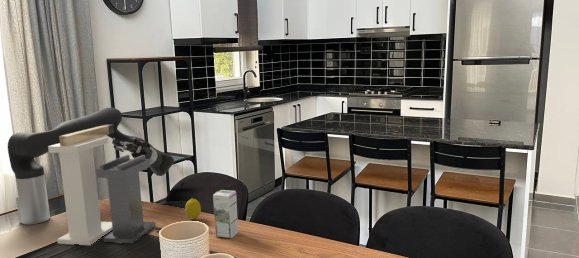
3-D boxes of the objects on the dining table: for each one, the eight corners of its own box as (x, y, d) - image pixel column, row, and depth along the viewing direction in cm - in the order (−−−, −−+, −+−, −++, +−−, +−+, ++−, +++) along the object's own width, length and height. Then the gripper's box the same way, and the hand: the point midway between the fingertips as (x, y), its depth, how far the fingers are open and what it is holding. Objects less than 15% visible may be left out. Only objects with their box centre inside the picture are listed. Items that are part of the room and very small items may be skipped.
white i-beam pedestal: (57, 243, 140) (45, 146, 135) (89, 225, 155) (79, 137, 150) (90, 245, 137) (79, 146, 132) (119, 226, 153) (110, 137, 148)
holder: (103, 242, 139) (95, 165, 135) (129, 225, 154) (122, 154, 150) (132, 244, 137) (124, 165, 133) (155, 226, 152) (149, 155, 148)
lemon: (203, 216, 159) (201, 195, 158) (198, 222, 154) (197, 200, 152) (188, 216, 160) (187, 196, 158) (183, 222, 154) (182, 200, 153)
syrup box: (239, 232, 143) (236, 190, 141) (231, 239, 138) (228, 195, 136) (223, 230, 145) (221, 188, 143) (215, 237, 140) (212, 194, 138)
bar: (60, 145, 135) (59, 136, 134) (106, 132, 158) (105, 124, 158) (68, 145, 134) (67, 136, 134) (114, 132, 157) (113, 124, 157)
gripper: (130, 145, 183) (108, 131, 169) (161, 145, 181) (142, 131, 166) (127, 162, 181) (104, 150, 166) (158, 162, 178) (138, 150, 163)
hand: (123, 140), depth 166 cm, fingers open, 8 cm apart
